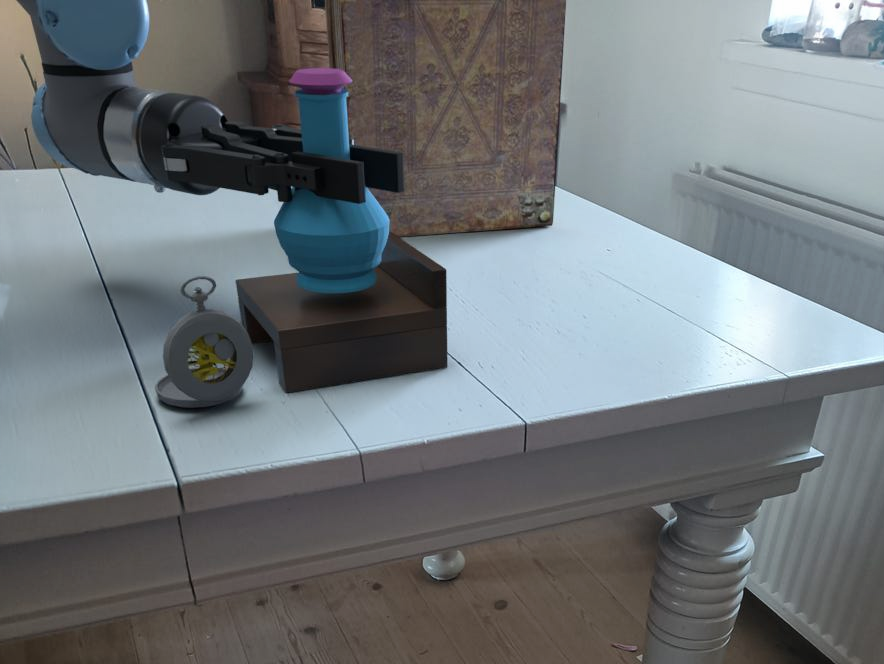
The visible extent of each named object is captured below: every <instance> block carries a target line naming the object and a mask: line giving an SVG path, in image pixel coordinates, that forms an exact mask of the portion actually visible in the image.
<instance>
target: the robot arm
mask: <svg viewBox="0 0 884 664" xmlns="http://www.w3.org/2000/svg"><path fill="white" fill-rule="evenodd" d="M15 1H16V2H17V3H18V4H19V5H20V7H22V9H24V11H25V12H26V13H27V14H28V15H29V17H30V20H31V26H32V28H33V33H34V36H35V40H36V44H37V48H38V51H39V55H40V59H41V68H42V71H43V72H42V75H43V79H44V82H43V83H42V84H41V85H40V86H39V87H38V88H37V90H36V91H35V93H34V96H33V100H32V101H33V102H32V107H31V114H30V120H31V125H32V129H33V133H34V135H35V138H36V139H37V142H38V143H39V144H40V146H41V147H42V150H44V151H45V153H46V154H48V156H49V157H50V158H52V159H53V160H54V161H56V162H58V163H59V164H60V165H63V166H65V167H69V168H71V169H75V170H78V171H80V172H82V173H84V174H86V175H88V174H89V175H91V176H94V177H99V176H102V177H107V178H112V179H118V180H125V181H130V182H134V183H139V184H146V185H150V186H153V190H154V191H155V193H158V194H160V193H161V194H162V193H164V192H165V191H166V189H169V190H172V191H176V192H180V193H185V194H190V195H195V196H207V195H211V194H212V193H215V192H217V191H218V190H219V189H224V190H231V191H235V192H241V193H248V194H252V195H257V196H264V195H267V194H269V192H270V191H269V190H273V191H276V194H277V202H280V203H284V202H290V201H292V190H291V189H292V187H295V191H297V190H300V189H307V190H309V191H311V192H313V193H314V194H315V195H316V196H320V197H325V198H330V199H335V200H341V201H346V202H351V203H357V204H361V203H365V202H366V196H365V186H366V187H368V188H374V189H379V190H385V191H391V192H396V193H400V192H403V191H404V166H403V153H402V152H396V151H389V150H383V149H376V148H370V147H363V146H357V145H354V139H353V138H349V150H350V160H347V159H341V158H335V157H329V156H323V155H317V154H311V153H304V152H303V143H302V133H301V129H298V128H292V127H289V126H287V125H283V124H282V123H276V124H274V125H271V127H262V126H252V125H251V126H250V125H249V124H247V123H246V122H243V121H229V120H228V118H227V117H226V116H225V114H224V113H223V111H222V110H221V109H220V108H219V106H218V105H217V104H215V103H214V102H213V101H212V100H210V99H208V98H206V97H203V96H200V95H193V94H186V93H178V92H172V91H168V90H162V89H155V88H146V87H138V86H137V85H136V79H135V74H134V69H133V68H134V67H133V61H134V60H135V59H137V57H138V56H139V54H140V53H141V52H142V51H143V48H144V46H145V44H146V42H147V39H148V36H149V31H150V10H149V5H148V2H147V0H15Z"/></svg>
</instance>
